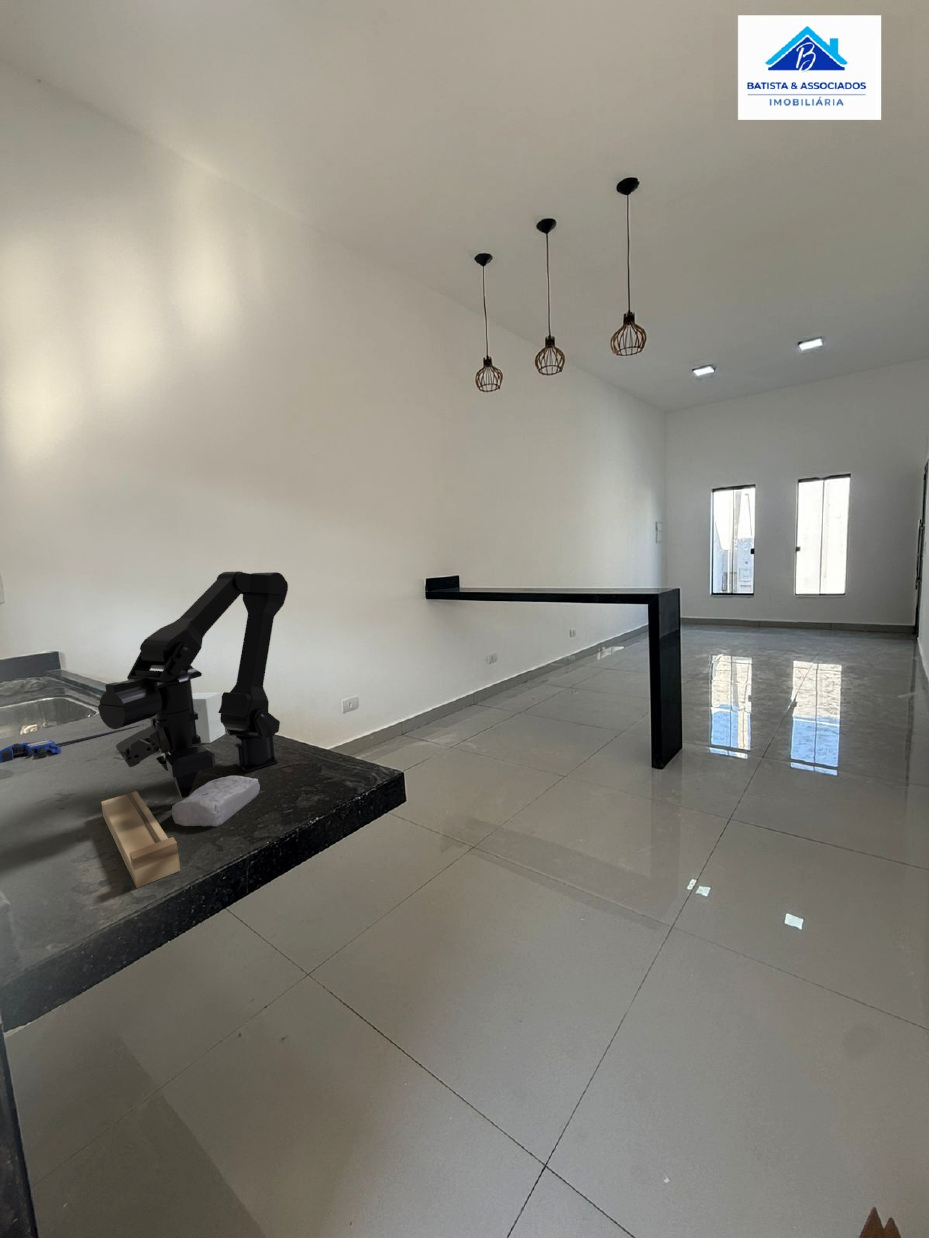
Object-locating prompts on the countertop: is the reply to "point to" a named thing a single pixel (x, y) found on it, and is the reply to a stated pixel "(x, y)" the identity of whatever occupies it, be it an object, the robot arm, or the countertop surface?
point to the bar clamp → (41, 747)
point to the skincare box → (208, 716)
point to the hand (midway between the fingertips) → (184, 796)
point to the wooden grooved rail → (140, 839)
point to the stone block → (215, 801)
